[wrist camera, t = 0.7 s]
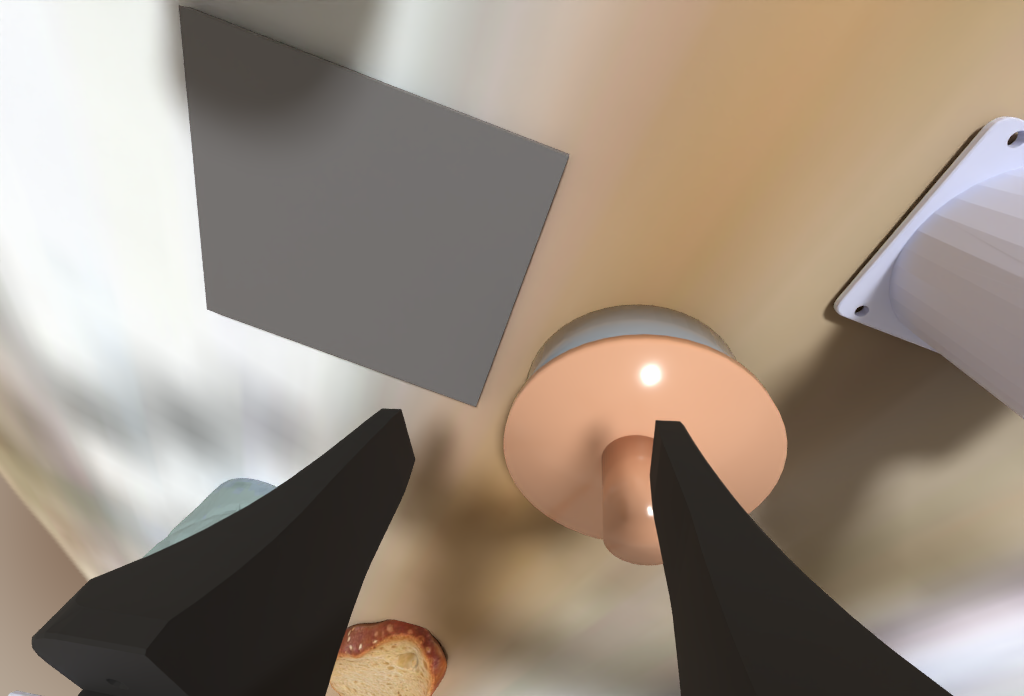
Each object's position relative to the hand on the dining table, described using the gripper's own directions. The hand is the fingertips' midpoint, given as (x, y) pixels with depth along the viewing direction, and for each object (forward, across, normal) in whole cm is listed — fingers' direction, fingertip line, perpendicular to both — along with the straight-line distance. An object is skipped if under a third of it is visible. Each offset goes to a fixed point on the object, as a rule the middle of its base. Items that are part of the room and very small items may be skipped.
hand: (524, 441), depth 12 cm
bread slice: (+11, +19, +44) cm, 49 cm away
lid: (+6, -4, +6) cm, 9 cm away
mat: (+10, +9, -3) cm, 14 cm away
